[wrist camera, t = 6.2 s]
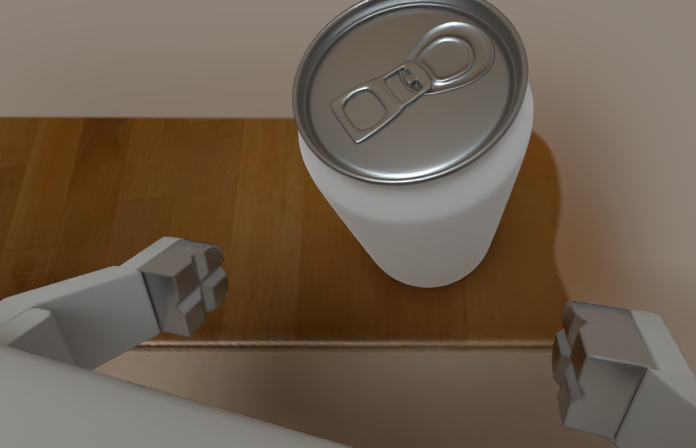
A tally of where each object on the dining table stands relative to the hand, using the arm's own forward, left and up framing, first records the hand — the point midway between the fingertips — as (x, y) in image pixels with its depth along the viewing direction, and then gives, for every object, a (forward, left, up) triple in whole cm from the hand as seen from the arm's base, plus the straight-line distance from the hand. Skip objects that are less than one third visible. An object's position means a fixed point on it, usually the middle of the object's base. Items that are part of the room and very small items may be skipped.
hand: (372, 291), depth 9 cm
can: (-3, -4, -11) cm, 12 cm away
